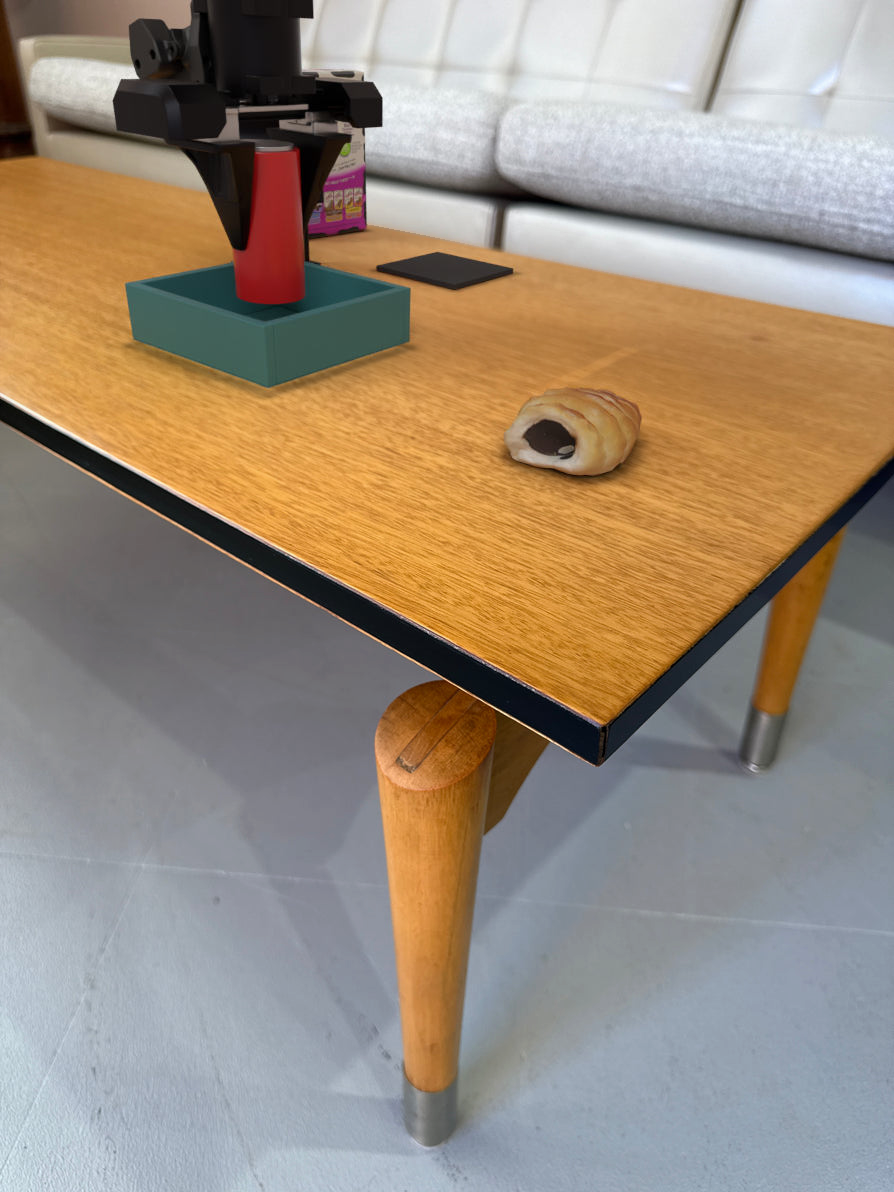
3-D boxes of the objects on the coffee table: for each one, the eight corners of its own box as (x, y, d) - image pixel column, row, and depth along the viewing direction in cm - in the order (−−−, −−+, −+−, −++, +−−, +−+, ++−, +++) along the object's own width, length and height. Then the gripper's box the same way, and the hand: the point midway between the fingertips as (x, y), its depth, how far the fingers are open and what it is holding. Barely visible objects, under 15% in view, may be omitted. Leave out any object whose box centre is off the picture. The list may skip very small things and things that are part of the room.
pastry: (569, 412, 57) (577, 355, 55) (664, 440, 54) (677, 381, 52) (493, 457, 51) (499, 394, 49) (597, 492, 48) (608, 426, 46)
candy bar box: (340, 223, 107) (337, 68, 98) (368, 230, 104) (367, 71, 95) (267, 234, 100) (256, 67, 91) (294, 241, 97) (286, 70, 88)
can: (273, 283, 67) (264, 137, 61) (319, 295, 64) (314, 144, 59) (222, 294, 63) (207, 140, 58) (269, 308, 61) (258, 149, 55)
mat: (437, 256, 94) (437, 251, 94) (513, 273, 90) (513, 268, 89) (376, 270, 88) (376, 265, 87) (454, 289, 83) (454, 284, 82)
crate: (278, 308, 75) (275, 253, 72) (409, 347, 67) (411, 287, 65) (133, 345, 65) (124, 282, 62) (268, 394, 57) (264, 326, 55)
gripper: (273, -17, 64) (285, 213, 72) (37, -38, 51) (85, 243, 60) (388, -13, 58) (386, 234, 67) (155, -36, 46) (190, 273, 54)
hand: (268, 244), depth 62 cm, fingers closed on can, 5 cm apart
